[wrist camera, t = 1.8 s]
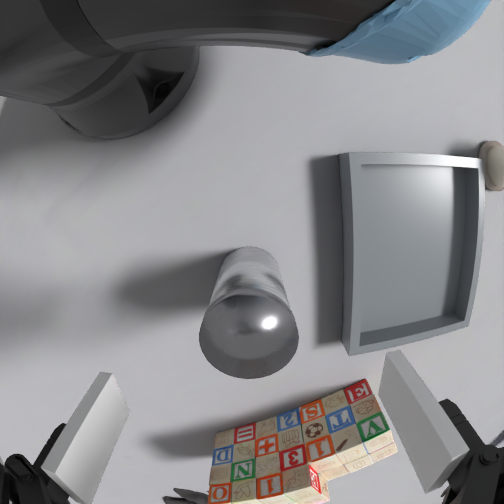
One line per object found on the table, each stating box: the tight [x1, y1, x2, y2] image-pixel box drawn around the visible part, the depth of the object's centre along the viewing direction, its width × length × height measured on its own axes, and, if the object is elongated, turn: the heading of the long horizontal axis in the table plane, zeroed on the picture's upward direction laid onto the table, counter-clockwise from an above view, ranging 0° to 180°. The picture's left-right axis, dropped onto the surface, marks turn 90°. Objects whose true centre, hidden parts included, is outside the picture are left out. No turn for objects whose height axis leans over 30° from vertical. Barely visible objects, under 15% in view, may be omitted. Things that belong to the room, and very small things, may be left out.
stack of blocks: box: [207, 379, 398, 504], centre depth 27 cm, size 21×6×12 cm, turn 118°
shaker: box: [199, 247, 299, 379], centre depth 22 cm, size 6×6×11 cm
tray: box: [338, 152, 485, 356], centre depth 25 cm, size 19×16×3 cm
